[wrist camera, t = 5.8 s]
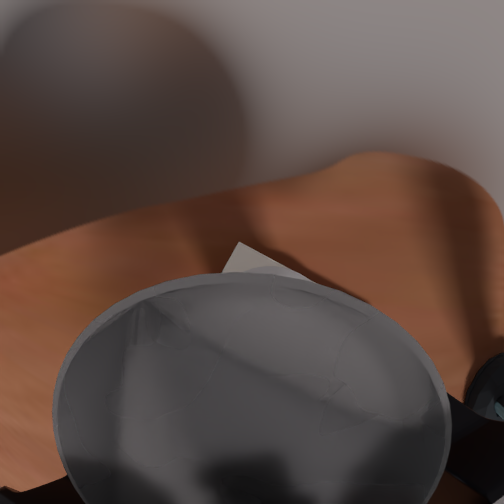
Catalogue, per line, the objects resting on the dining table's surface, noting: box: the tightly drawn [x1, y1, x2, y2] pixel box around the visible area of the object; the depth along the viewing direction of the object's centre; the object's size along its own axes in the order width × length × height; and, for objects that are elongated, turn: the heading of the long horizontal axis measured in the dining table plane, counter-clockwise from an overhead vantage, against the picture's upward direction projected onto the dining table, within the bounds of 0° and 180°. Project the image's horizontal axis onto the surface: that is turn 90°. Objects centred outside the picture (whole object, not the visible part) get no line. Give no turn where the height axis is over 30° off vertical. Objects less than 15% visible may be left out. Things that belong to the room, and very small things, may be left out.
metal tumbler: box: [52, 272, 452, 504], centre depth 9 cm, size 5×5×14 cm
